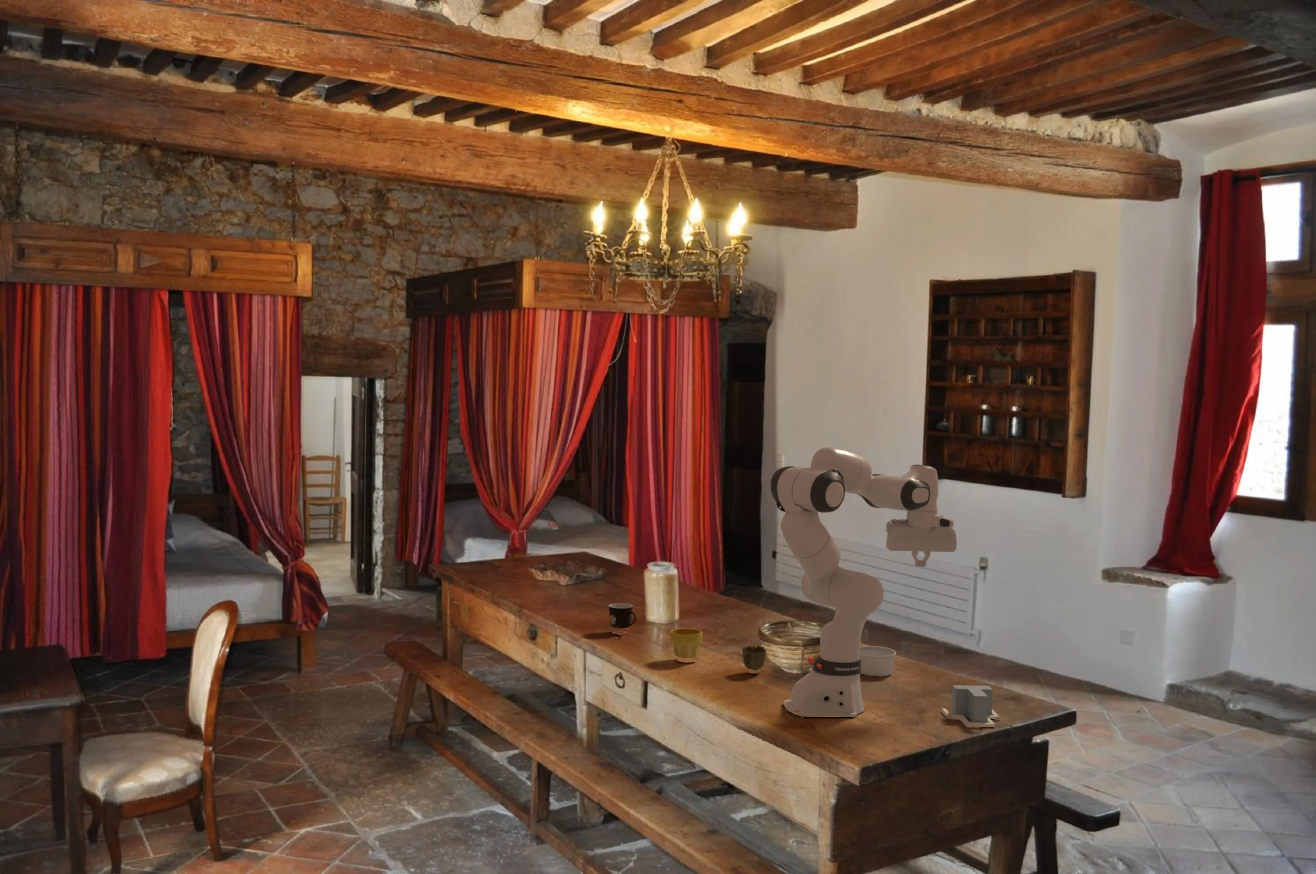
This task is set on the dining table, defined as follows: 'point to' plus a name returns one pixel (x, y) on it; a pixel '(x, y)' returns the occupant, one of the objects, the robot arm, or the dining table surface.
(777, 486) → the robot arm
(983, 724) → the t outline
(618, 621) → the coffee mug
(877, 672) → the ramekin
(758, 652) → the cup
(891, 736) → the dining table surface
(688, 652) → the plant pot
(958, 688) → the t block
